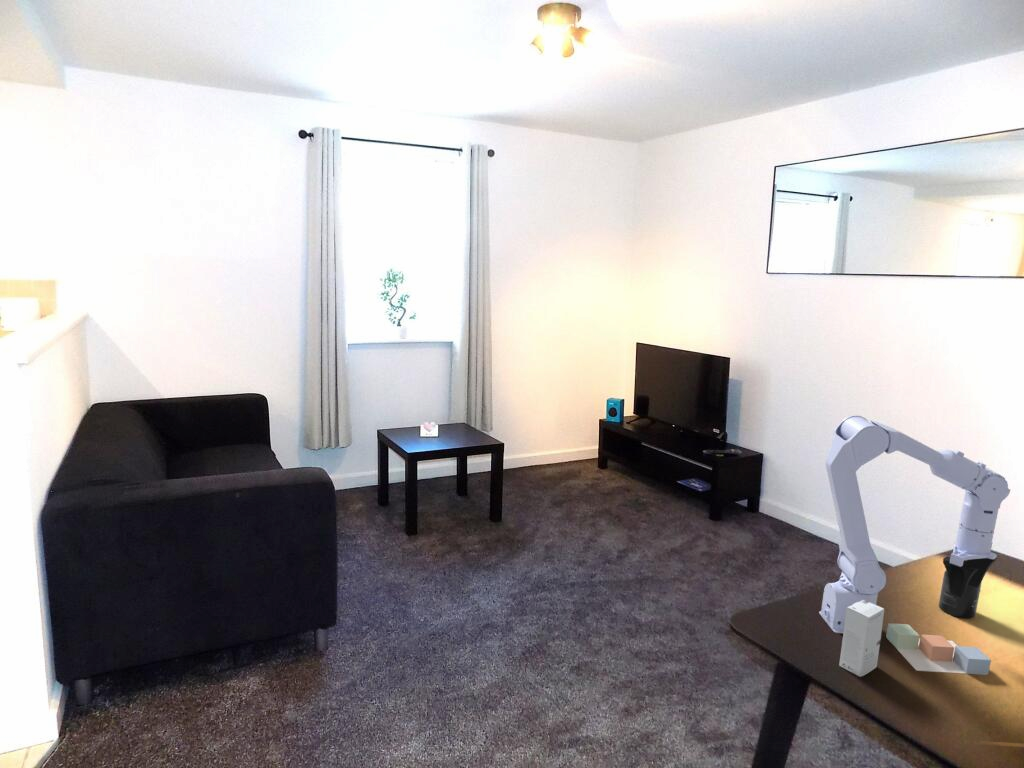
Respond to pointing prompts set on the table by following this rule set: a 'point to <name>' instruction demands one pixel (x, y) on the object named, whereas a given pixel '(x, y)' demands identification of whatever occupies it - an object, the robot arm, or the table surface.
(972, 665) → the slate block
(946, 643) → the terracotta block
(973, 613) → the supplement bottle
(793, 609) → the table surface
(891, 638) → the sage block
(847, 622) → the skincare box
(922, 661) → the felt mat
